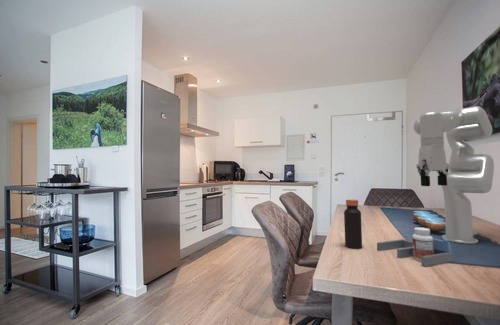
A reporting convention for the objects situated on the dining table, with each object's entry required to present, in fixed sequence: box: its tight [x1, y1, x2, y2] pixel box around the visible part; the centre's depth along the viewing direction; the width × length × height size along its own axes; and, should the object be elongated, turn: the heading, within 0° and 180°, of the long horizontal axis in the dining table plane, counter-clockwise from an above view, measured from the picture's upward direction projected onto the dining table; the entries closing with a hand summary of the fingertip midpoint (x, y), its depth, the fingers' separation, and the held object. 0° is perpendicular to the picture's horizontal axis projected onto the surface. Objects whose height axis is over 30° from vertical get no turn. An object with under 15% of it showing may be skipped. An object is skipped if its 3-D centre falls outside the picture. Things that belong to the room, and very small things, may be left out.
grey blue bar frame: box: [376, 237, 454, 268], centre depth 93 cm, size 14×20×8 cm
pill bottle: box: [411, 227, 434, 262], centre depth 88 cm, size 6×6×11 cm
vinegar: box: [343, 199, 363, 250], centre depth 105 cm, size 7×7×20 cm
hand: (434, 185), depth 97 cm, fingers open, 9 cm apart
